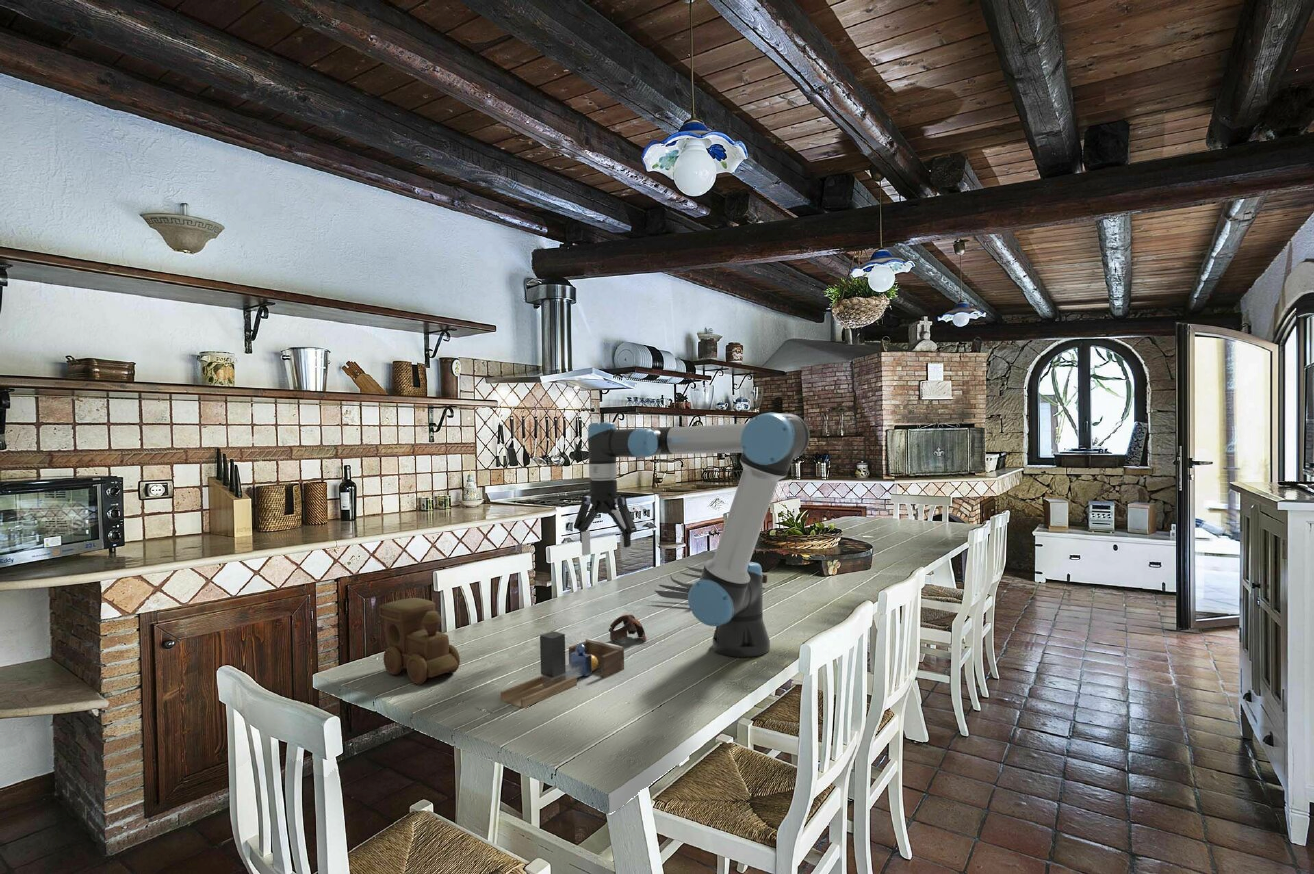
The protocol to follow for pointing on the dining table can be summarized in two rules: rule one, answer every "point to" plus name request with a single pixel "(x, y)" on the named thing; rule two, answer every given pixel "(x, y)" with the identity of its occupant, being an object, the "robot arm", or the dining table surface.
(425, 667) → the wooden toy train
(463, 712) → the dining table surface
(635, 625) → the brown curved piece
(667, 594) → the knife set
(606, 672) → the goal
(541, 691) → the track
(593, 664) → the ball
